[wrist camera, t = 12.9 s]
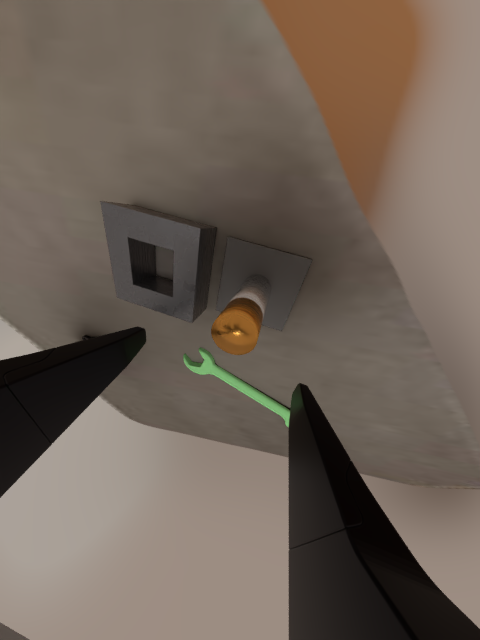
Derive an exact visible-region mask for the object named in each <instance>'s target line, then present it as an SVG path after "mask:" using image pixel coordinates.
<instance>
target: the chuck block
mask: <svg viewBox="0 0 480 640" xmlns="http://www.w3.org/2000/svg"><path fill="white" fill-rule="evenodd" d="M100 202H101V208H102V214H103V220H104V225H105V231H106V237H107V243H108V249H109V254H110V260H111V266H112V272H113V278H114V283H115V289H116V295H117V298H119V299H122V300H125V301H128V302H131V303H134V304H137V305H140V306H143V307H146V308H149V309H152V310H155V311H158V312H161V313H164V314H167V315H170V316H173V317H176V318H179V319H182V320H185V321H188V322H191V323H193V322H194V320H195V319H196V318H197V317H198V316H199V315H200V314H201V313H202V312H203V311H204V310H205V309H206V305H207V298H208V290H209V282H210V275H211V267H212V259H213V252H214V244H215V237H216V229H217V228H216V227H212V226H208V225H205V224H201V223H197V222H194V221H190V220H186V219H183V218H179V217H175V216H172V215H168V214H164V213H161V212H157V211H153V210H150V209H146V208H142V207H139V206H135V205H129V204H121V203H113V202H105V201H100ZM155 245H156V246H159V247H163V248H166V249H170V250H173V251H174V265H173V281H172V280H168V279H165V278H162V277H159V276H156V266H155Z"/></svg>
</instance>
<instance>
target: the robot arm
mask: <svg viewBox="0 0 480 640" xmlns="http://www.w3.org/2000/svg"><path fill="white" fill-rule="evenodd" d="M82 339H83V341H79V342H76V343H72V344H68V345H64V346H60V347H57V348H52V349H48V350H44V351H40V352H36V353H32V354H28V355H23V356H19V357H14V358H9V359H5V360H0V497H1V496H2V495H3V494H4V493H5V492H6V491H7V490H8V489H9V488H10V487H11V486H12V485H13V484H14V483H15V482H16V481H17V480H18V479H19V478H20V476H22V474H24V473H25V471H26V470H27V469H28V468H29V467H30V466H31V465H32V464H33V463H34V462H35V461H36V460H37V459H38V458H39V457H40V456H41V455H42V454H43V453H44V452H45V451H46V450H47V449H48V448H49V447H50V446H51V444H52V443H53V442H54V441H55V440H56V439H57V438H58V437H59V436H60V435H61V434H62V433H63V432H64V431H65V430H66V429H67V428H68V427H69V426H70V425H71V424H72V423H73V422H74V420H75V419H76V418H77V417H78V416H79V415H80V414H81V413H82V412H83V411H84V410H85V409H86V408H87V407H88V406H89V405H90V404H91V403H92V402H93V401H94V400H95V399H96V398H97V397H98V396H99V395H100V394H101V393H102V391H103V390H104V389H105V388H106V387H107V386H108V385H109V384H110V383H111V382H112V381H113V380H114V379H115V378H116V377H117V376H118V375H119V374H120V373H121V372H122V371H123V370H124V369H125V368H126V367H127V365H128V364H129V363H130V362H131V361H132V359H133V358H134V357H135V356H136V354H137V353H138V352H139V351H140V349H141V348H142V347H143V346H144V344H145V343H146V331H145V329H144V328H141V327H134V328H130V329H126V330H122V331H119V332H115V333H111V334H107V335H103V336H99V337H95V338H91V337H89V336H86V335H85V336H83V337H82ZM0 640H29V639H27V638H26V637H24V636H22V635H20V634H19V633H17V632H15V631H14V630H12V629H10V628H9V627H7V626H5V625H3V624H2V623H0ZM289 640H480V629H479V628H478V627H477V626H476V625H475V624H474V623H473V622H472V621H471V620H470V619H469V618H468V617H467V616H466V615H465V614H464V613H463V612H462V611H461V610H460V609H459V608H458V607H457V606H456V605H455V604H453V602H451V600H450V599H449V598H447V596H446V595H445V594H444V593H443V592H442V591H441V590H440V589H439V588H438V587H437V586H436V585H435V584H434V582H433V581H432V580H431V579H430V577H429V576H428V575H427V574H426V572H425V571H424V570H423V569H422V567H421V566H420V565H419V563H418V562H417V560H416V559H415V557H414V556H413V555H412V553H411V552H410V550H409V549H408V547H407V546H406V544H405V543H404V541H403V540H402V538H401V537H400V536H399V534H398V533H397V531H396V529H395V528H394V526H393V525H392V523H391V522H390V521H389V519H388V517H387V516H386V514H385V513H384V512H383V510H382V509H381V507H380V505H379V504H378V502H377V501H376V500H375V498H374V496H373V495H372V493H371V492H370V490H369V489H368V487H367V486H366V484H365V482H364V481H363V479H362V477H361V476H360V474H359V472H358V471H357V469H356V467H355V466H354V464H353V462H352V461H350V457H349V456H348V454H347V452H346V451H345V449H344V447H343V445H342V444H341V442H340V440H339V439H338V437H337V435H336V434H335V432H334V430H333V428H332V427H331V425H330V423H329V422H328V420H327V418H326V417H325V415H324V413H323V412H322V410H321V408H320V406H319V405H318V403H317V401H316V400H315V398H314V396H313V395H312V393H311V391H310V390H309V388H308V386H307V385H304V384H301V383H299V384H298V385H297V387H296V388H295V390H294V392H293V394H292V400H291V409H290V418H289Z"/></svg>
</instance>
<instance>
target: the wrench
mask: <svg viewBox="0 0 480 640" xmlns="http://www.w3.org/2000/svg"><path fill="white" fill-rule="evenodd" d="M199 352H200V354H201V356H202V357H203V358H204V362H203V363H196V362H192V361H191V360H190V359H189V357H188V356H187V355H186V354H184V356H183V359H184V362H185V364H186V366H187V367H188V368H189V369H190V370H191V371H193V372H195V373H197V374H202V375H204V374H213V375H215V376H216V377H218V378H220V379H221V380H223V381H225V382H226V383H228V384H230V385H231V386H233V387H234V388H236V389H238V390H239V391H241V392H243V393H244V394H246V395H247V396H249V397H251V398H252V399H254V400H256V401H257V402H259V403H260V404H262V405H264V406H265V407H267V408H269V409H270V410H272V411H273V412H275V413H277V414H278V415H280V416H282V417H283V419H284V420H285V424H286V425H287V427H289V418H290V410H289V409H287V408H286V407H284V406H283V405H281V404H279V403H278V402H276V401H274V400H273V399H271V398H270V397H268V396H266V395H265V394H263V393H261V392H260V391H258V390H257V389H255V388H253V387H252V386H250V385H248V384H247V383H245V382H244V381H242V380H240V379H239V378H237V377H235V376H234V375H232V374H231V373H229V372H227V371H226V370H224V369H222V368H221V367H219V366H217V365H216V364H215V361H214V358H213V356H212V355H211V354H210V353H209V352H208V351H207V350H205V349H203V348H199Z"/></svg>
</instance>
